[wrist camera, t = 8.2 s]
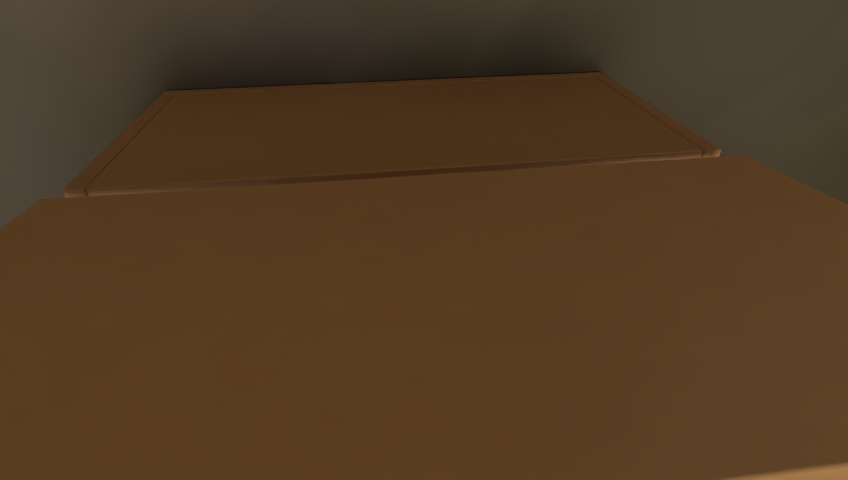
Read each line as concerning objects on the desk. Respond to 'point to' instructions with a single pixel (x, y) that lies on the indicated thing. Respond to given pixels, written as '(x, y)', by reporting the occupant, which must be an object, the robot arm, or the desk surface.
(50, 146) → the desk surface
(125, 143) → the carton
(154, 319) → the flap
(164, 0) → the desk surface
